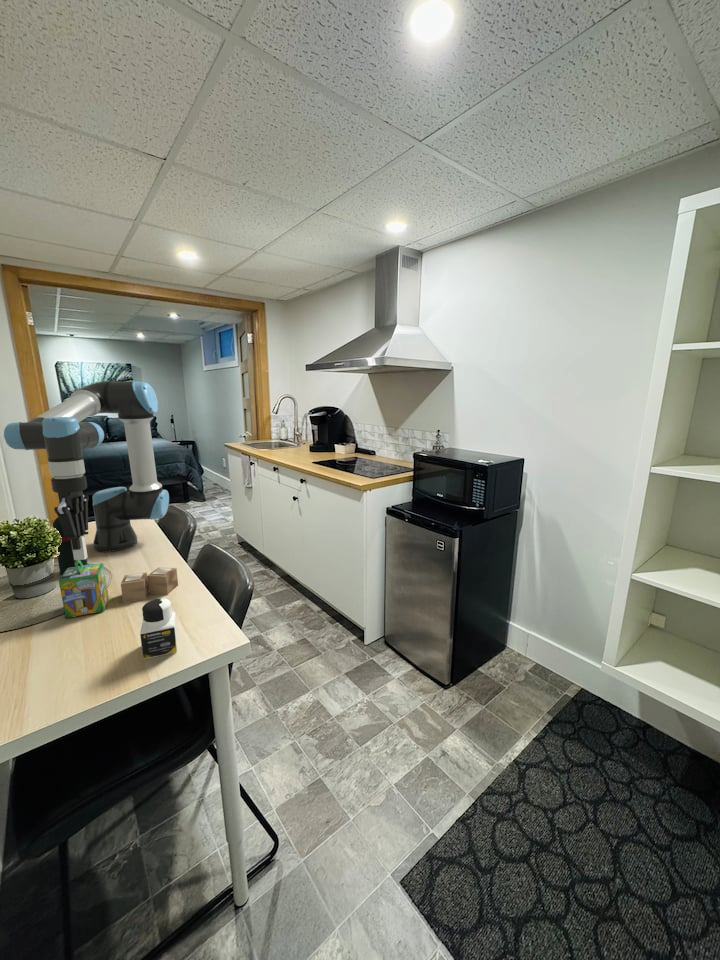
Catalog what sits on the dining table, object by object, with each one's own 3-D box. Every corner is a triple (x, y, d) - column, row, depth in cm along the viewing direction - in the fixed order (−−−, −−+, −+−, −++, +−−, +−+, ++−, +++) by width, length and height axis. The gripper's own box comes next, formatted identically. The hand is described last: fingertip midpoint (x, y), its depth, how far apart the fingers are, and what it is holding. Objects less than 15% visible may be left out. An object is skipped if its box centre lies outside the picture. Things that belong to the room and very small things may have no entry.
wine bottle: (89, 563, 141) (77, 482, 135) (87, 574, 132) (75, 488, 126) (61, 568, 137) (48, 485, 130) (59, 579, 128) (44, 491, 122)
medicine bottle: (143, 660, 90) (137, 613, 87) (146, 642, 96) (140, 598, 94) (177, 652, 92) (172, 607, 90) (177, 636, 99) (173, 593, 96)
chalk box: (103, 612, 109) (96, 563, 106) (64, 619, 106) (55, 569, 103) (109, 597, 118) (103, 551, 114) (73, 603, 114) (65, 555, 111)
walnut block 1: (127, 593, 120) (124, 574, 119) (148, 590, 122) (146, 571, 121) (123, 602, 115) (120, 583, 113) (145, 599, 117) (143, 579, 115)
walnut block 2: (160, 584, 126) (158, 566, 124) (178, 585, 125) (176, 567, 124) (149, 593, 120) (146, 574, 119) (167, 594, 119) (165, 575, 118)
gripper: (65, 471, 109) (77, 550, 114) (37, 481, 97) (52, 569, 101) (95, 471, 110) (106, 549, 115) (71, 480, 98) (84, 567, 103)
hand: (80, 558), depth 108 cm, fingers closed
